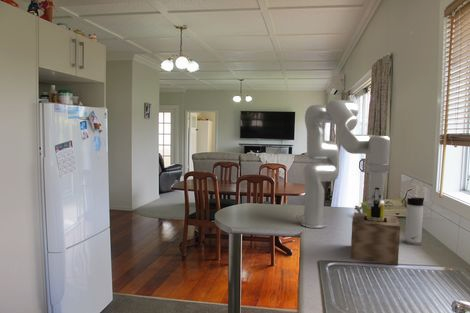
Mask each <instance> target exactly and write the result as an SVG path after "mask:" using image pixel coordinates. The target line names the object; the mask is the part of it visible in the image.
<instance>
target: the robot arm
mask: <svg viewBox="0 0 470 313" xmlns="http://www.w3.org/2000/svg"><path fill="white" fill-rule="evenodd" d="M358 113H359V106H358V105H357V103H356V101H353V100H350V99H349V100H346V99H333V100H330V101H329V102H327V104H313V105H309V107H307V108H306V110H305V113H304V124H305V128H306V154H307V155H306V156H307V158H309V159H310V160H313V161H315V160H318V161H319V162H310V163H307V164H305V166H304V167H303V177H304V206H303V207H304V211H303V215H297V214H296V215H295V220H297V221H298V220H299V221H300V225H301V226H302V225H303V227H305V226H306V228H309V229H323V228H326V227H327V223H326V222H324V215H325V214H324V211H325V188H324V186H323V184H322V182H334V181H336V180H337V179H338V177H339V173H340V172H339V171H340V149H339V146H338V144H337V143H336V142H334V141H332V140H325V130H324V128H323V126H322V124H321V123H328V124H334V125H335V126H336V128H337V131H336V136H337V142H338V143H339V144H340V146H341V147H342V148H343V149H344V151H346V152H347V153H349V154H353V155H357V154H358V155H359V154H360V155H361V154H362V155H367V163H366V164H367V167H366V172H367V173H369V178H368V196H367V197H368V200H369V199H370V198H372V197H373V198H372V206H371V217H376V218H380V211H381V207H380V200H381V199H382V197H383V198H384V191H385V190H384V189H385V176H386V174H389V172H390V170H389V168H390V167H389V166H390V151H391V150H390V149H391V138H390V137H389V136H387V135H375V134H374V135H373V134H354V133H353V132H351V131H353V130H354V129H355V128H356V126H357V125H358V118H357V117H358ZM322 160H323V161H325V162H321V161H322ZM380 196H381V197H380ZM374 197H375V198H374ZM378 197H379V198H378ZM380 198H381V199H380ZM382 200H383V199H382ZM378 206H379V207H378Z"/></svg>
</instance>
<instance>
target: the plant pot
mask: <svg viewBox="0 0 470 313" xmlns="http://www.w3.org/2000/svg"><path fill="white" fill-rule="evenodd" d="M360 206H361V209H362V213H366V214H367V201H363V202H360Z"/></svg>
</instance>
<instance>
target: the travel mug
mask: <svg viewBox="0 0 470 313" xmlns="http://www.w3.org/2000/svg"><path fill="white" fill-rule="evenodd" d="M406 200H407V201H406V214H405V230H404V231H405V232H404V234H405V235H404V243H406V244H409V245H414V246H415V245H416V246H419V245H421V244H422V236H423V234H422V232H423V218H424V217H423V216H424V201H425V198H424V197H407V199H406Z"/></svg>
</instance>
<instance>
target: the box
mask: <svg viewBox="0 0 470 313" xmlns="http://www.w3.org/2000/svg"><path fill="white" fill-rule="evenodd" d="M400 229H401V226H400V222H399V218H398V216H396V215H395V216H393V215H385V214H384V222H378V221H368V220H367V214H366V213H363V212H354V213H353V217H352V222H351V238H350V239H351V244H350V259H353V260H360V261H365V262H366V261H367V262H374V263H380V264H388V265H393V266H399V253H400V252H399V250H400V235H401V230H400Z"/></svg>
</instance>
